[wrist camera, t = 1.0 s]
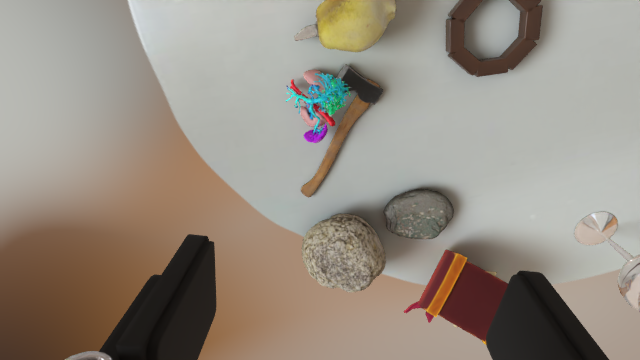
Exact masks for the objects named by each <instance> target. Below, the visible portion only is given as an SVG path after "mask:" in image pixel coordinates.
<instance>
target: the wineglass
mask: <svg viewBox="0 0 640 360" xmlns="http://www.w3.org/2000/svg"><path fill="white" fill-rule="evenodd" d="M617 225H618V224H617V219H616V218H615V216H614V215H612V214H610V213H607V212H596V213H593V214H590V215H588V216H586V217H585V218H583V219H582V220H581V221H580V222H579V223H578V225H577V226H576V228H575V233H574V234H575V238H576V239H577V241H578V242H580V243H582V244H585V245H596V244H599V243H602V242H604V241H607V242H608V243H609V244H610V245H611V246H612V247H613V248H614V249H615V250H616V251H617V252H618V253H619V254H620V255H622V256H623V257H624V258H625V259H626V260H627V262H626V263H625V264H624V265H623V267H622V268H621V271H620V274H619V277H618V287H619V290H620V293H621V294H622V296H623V297H624V298H625V300H626V301H627V302H628V303H629V305H631V306H632V307H634V308H635V309H638V310H639V312H640V255H637V256H635V257H633V256H632V255H631V254H630V253H628V252H627V251H626V250H624V249H623V248H622V247H621V246H619V245H618V244H617V243H615V242H614V241H613V240H611V239H610V237H611V236H612V235H613V234H614V232H615V231H616V229H617Z"/></svg>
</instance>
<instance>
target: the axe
mask: <svg viewBox="0 0 640 360" xmlns="http://www.w3.org/2000/svg"><path fill="white" fill-rule="evenodd" d="M339 77H341V81H343V82H344V84H347V85H344V86H343V87H344V88H346V87H350V88H348V89H349V90H348V91H356V92H357V96H356V97H355V99H354V100H353V102H352V103H351V105H350V107H349V108H348V110H347V112H346V114H345V115H344V117H343V119H342V121H341V123H340V125H339V127H338V129H337V131H336V133H335V135H334V137H333V139H332V142H331V144H330V146H329V148H328V150H327V153H326V155H325V157H324V159H323V161H322V163H321V165H320V167H319V169H318V171H317V173H316V174H315V176H314V177H313V179H312V180H311V181H309V182H308V183H306V184H305V185H303V187H302V188H301V192H302V193H303V194H304V195H305V196H307V197H311V196H312V194H313V193H314V192H315V190H316V189H317V188H318V186H319V185H320V183H321V182H322V180H323V179H324V177H325V176H326V174H327V172H328V171H329V169H330V167H331V165H332V163H333V161H334V159H335V157H336V155H337V153H338V151H339V149H340V147H341V145H342V143H343V141H344V139H345V137H346V135H347V133H348V132H349V130H350V128H351V127H352V125H353V124H354V123H355V121H356V120H357V119H358V118H359V116H360V115H361V114H362V113H363V112H364V111H365V110H366V109H367V108H368V107H369V105H370V103H372V104H374V105H375V104H376V102H377V100H378V99H379V97H380V96H381V94H382V92H383V89H381V88H380V86H379V85H378V84H376V83H375V82H373V81H371V80H369V79H365V78H364V77H362V76H361V75H360V74H358V73H357V72H356V71H354V70H353V69H352V68H351V67H350V66H348V65H347V64H345V65H344V67H343V68H342V69H341V71H340V73H339V74H338V76H337V80H338V78H339ZM339 79H340V78H339ZM338 81H339V80H338ZM343 82H341V83H343ZM336 83H337V81H336ZM341 85H342V84H341ZM342 92H343V91H342ZM346 92H347V90H344V92H343V93H346Z"/></svg>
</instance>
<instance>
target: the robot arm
mask: <svg viewBox="0 0 640 360" xmlns="http://www.w3.org/2000/svg"><path fill="white" fill-rule="evenodd" d="M215 282H216V281H215V253H214V242H212V241H209V239H208V237H207V236H200V235H191V234H189V235H188V236H187V237H186V238H185V240H184V241H183V243H182V245H181V246H180V247H179V249H178V250H177V252H176V253H175V255H174V257H173V258H172V260H171V261H170V263H169V264H168V266H167V267H166V269H165V270H164V272H163V273H162V275H153V276H151V277H150V279H149V280H148V281H147V282H146V284H145V285H144V287H143V288H142V290H141V292H140V293H139V294H138V296H137V297H136V298H135V300H134V301H133V303H132V304H131V306H130V307H129V309H128V310H127V312H126V313H125V314H124V316H123V318H122V319H121V320H120V322H119V323H118V325H117V326H116V327H115V329H114V330H113V332H112V333H111V335H110V336H109V338H108V339H107V341H106V342H105V343H104V345H103V346H102V348H101V349H100V351H99V352H97V351H91V352H83V353H80V354H76V355H73V356H71V357H69V358H67V359H65V360H197V359H198V357H199V354H200V352H201V349H202V346H203V344H204V341H205V339H206V337H207V334H208V332H209V329H210V326H211V324H212V321H213V319H214V316H215V312H216V283H215ZM486 345H487V348H488V350H489V352H490V355H491V357H492V359H493V360H609V359H608V358H607V356H606V355H605V354H604V352H603V351H602V350H601V349H600V347H599V346H598V345H597V343H596V342H595V341H594V339H593V338H592V337H591V336H590V334H589V333H588V332H587V330H586V329H585V328H584V327H583V325H582V324H581V323H580V322H579V320H578V319H577V318H576V316H575V315H574V314H573V312H572V311H571V310H570V308H569V307H568V306H567V305H566V303H565V302H564V301H563V299H562V298H561V297H560V295H559V294H558V293H557V292H556V290H555V289H554V288H553V286H552V285H551V284H550V283H549V281H548V280H547V279H546V277H545V276H544V275H543V274H542V273H539V272H530V271H519V272H518V273H517V275H513V276H512V277H511V279H510V282H509V284H508V286H507V288H506V291H505V293H504V295H503V298H502V300H501V302H500V304H499V307H498V309H497V311H496V314H495V316H494V318H493V320H492V323H491V325H490V327H489V330H488V332H487V334H486Z"/></svg>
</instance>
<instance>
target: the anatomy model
mask: <svg viewBox="0 0 640 360" xmlns="http://www.w3.org/2000/svg"><path fill="white" fill-rule="evenodd" d="M326 74H327V73H326ZM303 75H304V78H305V79H306V81H307V82H308V83H309V84H310V85H312V86H313V88H314V87H315V88H314V89H315V90H316V91H312V90H311V89H312V86H311V87H309V90H308V94H310V95H311V96H312V95H313V94H314V93H317V94H318V96H319V97H317V98H316V99H314V97H313V96H312V98H311V99H309V98H308V97H306V96H305V95H304V94H303V92H301V91H300V90H299V89H298V88H297V87H296V86H295V85H294V80H293V79H292V80H291V84H292V86H290V88H292V89H293V90H294V91H295V92H296V93H294V91H292V90H291V89H290V88H289V87H288V86H287V87H288V88H289V89H290V90H291V92H292V93H293V94H294V95H292V94H291V95H292V96H291V97H290V98H289V99H291V98H292V97H293V96H296V102H295V103H296V105H297V101H298V102H299V99H301V100H302V101H303V102H304V103H306V102H307V103H306V106H307V108H306V107H303V106H301V107H300V108H299V113H301V116H302V118H303V119H304V121H305V122H306V123H307V125H309V126H311V127H315V128H314V129H315V130H310V131H308V132H306V133H305V134H304V138H305V139H306V140H307V141H308V142H313V143H317V142H320V141H321V140H322V139H323V138H324V137H325V135H326V133H327V125H326V124H325V123H326V122H328V123H329V124H330V126H334V125H335V121H334V120H333V118H332V117H331V116H332V114H335V111H336V110H337V109H340V108H341V107H342V106H341V105H343V104H344V101H343V100H345V102H346V99H344V96H346V95H349V94H350V92H349V91H348V90H349V89H348V88H350V87H346V88H344V87H343V86H344V85H347V84H344V82H343V81H341V77H339V78H340V79H339V78H338V80H339V81H338V80H337V78H334V79H333V80H334V81H333V80H332V78H333V77H331V76H333V75H330V76H329V75H328V74H327V75H324V73H321V72H320V71H318V70H308V71H306V72H304V74H303ZM328 77H329V78H328ZM336 81H337V83H336ZM341 82H343V83H341ZM341 84H342V85H341ZM332 85H333V86H332ZM288 88H287V89H288ZM289 89H288V90H289ZM290 90H289V91H290ZM344 90H347V92H348V93H349V94H347V93H343V92H344ZM342 91H343V92H342ZM310 92H313V94H311V93H310ZM332 92H333V93H334V95H333V93H332ZM337 93H338V94H337ZM286 94H290V93H286ZM297 94H298V95H297ZM330 95H331V96H330ZM350 95H351V94H350ZM350 95H349V97H350ZM333 97H334V98H333ZM336 97H337V98H336ZM327 98H328V99H329V101H328V99H327ZM289 99H288V100H289ZM288 100H286V102H287V101H288ZM331 100H332V102H331ZM340 100H341V101H340ZM305 101H306V102H305ZM338 101H339V102H338ZM318 102H319V103H321V105H322V108H321V107H320V106H318V105H316V104H315V103H317V104H318ZM325 102H327V103H325ZM329 102H330V103H329ZM337 102H338V103H337ZM332 103H333V104H332ZM342 103H343V104H342ZM326 104H327V105H328V107H327V105H326ZM345 104H346V103H345ZM339 105H340V106H339ZM299 106H300V102H299ZM337 106H339V107H338V108H337ZM344 106H345V105H343V107H344ZM295 107H296V106H295ZM324 107H325V108H326V107H327V108H326V109H324ZM296 108H298V106H297V107H296ZM327 109H328V110H329V113H328V112H326V111H325V110H327ZM328 110H327V111H328ZM323 124H325V126H324V128H323V127H321V129H319V130H318V129H317V127H319V126H321V125H323Z"/></svg>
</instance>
